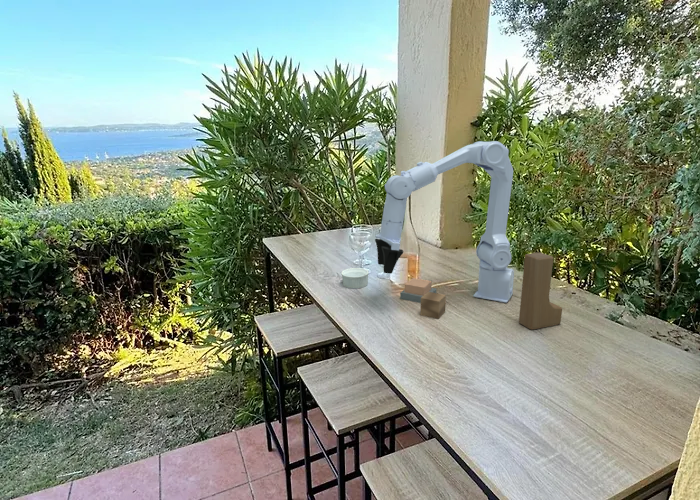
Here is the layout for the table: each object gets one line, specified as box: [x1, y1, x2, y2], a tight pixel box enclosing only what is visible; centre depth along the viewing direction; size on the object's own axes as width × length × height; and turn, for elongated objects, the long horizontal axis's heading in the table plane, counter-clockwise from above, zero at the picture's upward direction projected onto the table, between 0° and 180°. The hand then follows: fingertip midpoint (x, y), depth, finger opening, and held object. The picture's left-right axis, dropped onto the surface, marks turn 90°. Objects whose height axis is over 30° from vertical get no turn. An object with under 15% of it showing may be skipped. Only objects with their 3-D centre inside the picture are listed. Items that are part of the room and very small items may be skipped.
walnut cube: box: [419, 292, 447, 320], centre depth 105 cm, size 5×5×5 cm
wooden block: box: [518, 252, 563, 331], centre depth 96 cm, size 9×4×18 cm, turn 108°
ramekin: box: [341, 267, 370, 290], centre depth 128 cm, size 9×9×4 cm
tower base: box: [399, 287, 437, 304], centre depth 117 cm, size 8×8×2 cm
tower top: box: [404, 277, 433, 296], centre depth 116 cm, size 6×6×2 cm
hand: (384, 268), depth 110 cm, fingers open, 7 cm apart
